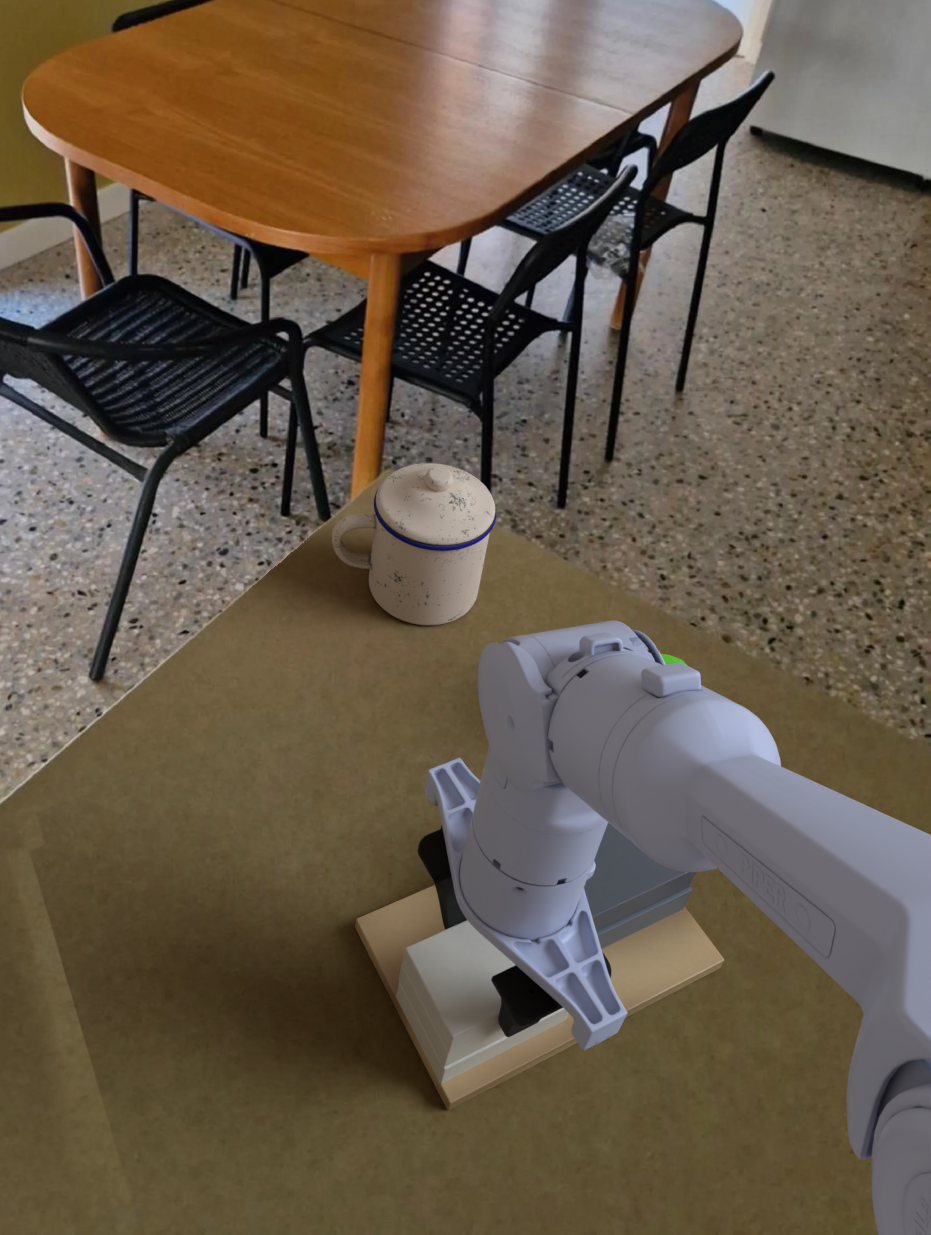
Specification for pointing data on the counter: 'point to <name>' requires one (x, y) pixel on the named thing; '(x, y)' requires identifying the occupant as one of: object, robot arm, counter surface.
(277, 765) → the counter surface
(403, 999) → the white books
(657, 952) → the shelf board
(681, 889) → the grey books
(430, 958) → the white book
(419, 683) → the counter surface
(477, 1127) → the counter surface
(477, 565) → the teacup with lid
